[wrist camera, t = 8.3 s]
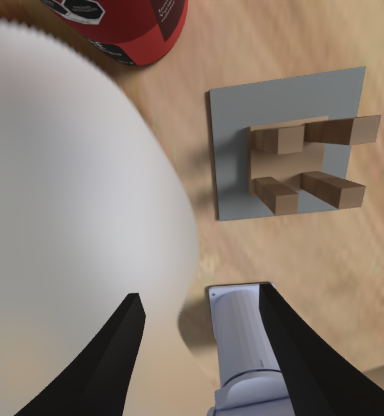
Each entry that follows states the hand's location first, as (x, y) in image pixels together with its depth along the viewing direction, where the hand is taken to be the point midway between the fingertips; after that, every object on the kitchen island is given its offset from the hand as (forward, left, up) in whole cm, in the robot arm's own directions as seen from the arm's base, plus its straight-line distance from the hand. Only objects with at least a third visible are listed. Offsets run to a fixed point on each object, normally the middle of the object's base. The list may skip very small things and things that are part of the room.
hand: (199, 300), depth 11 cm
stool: (+6, -8, -10) cm, 14 cm away
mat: (+6, -8, -10) cm, 14 cm away
